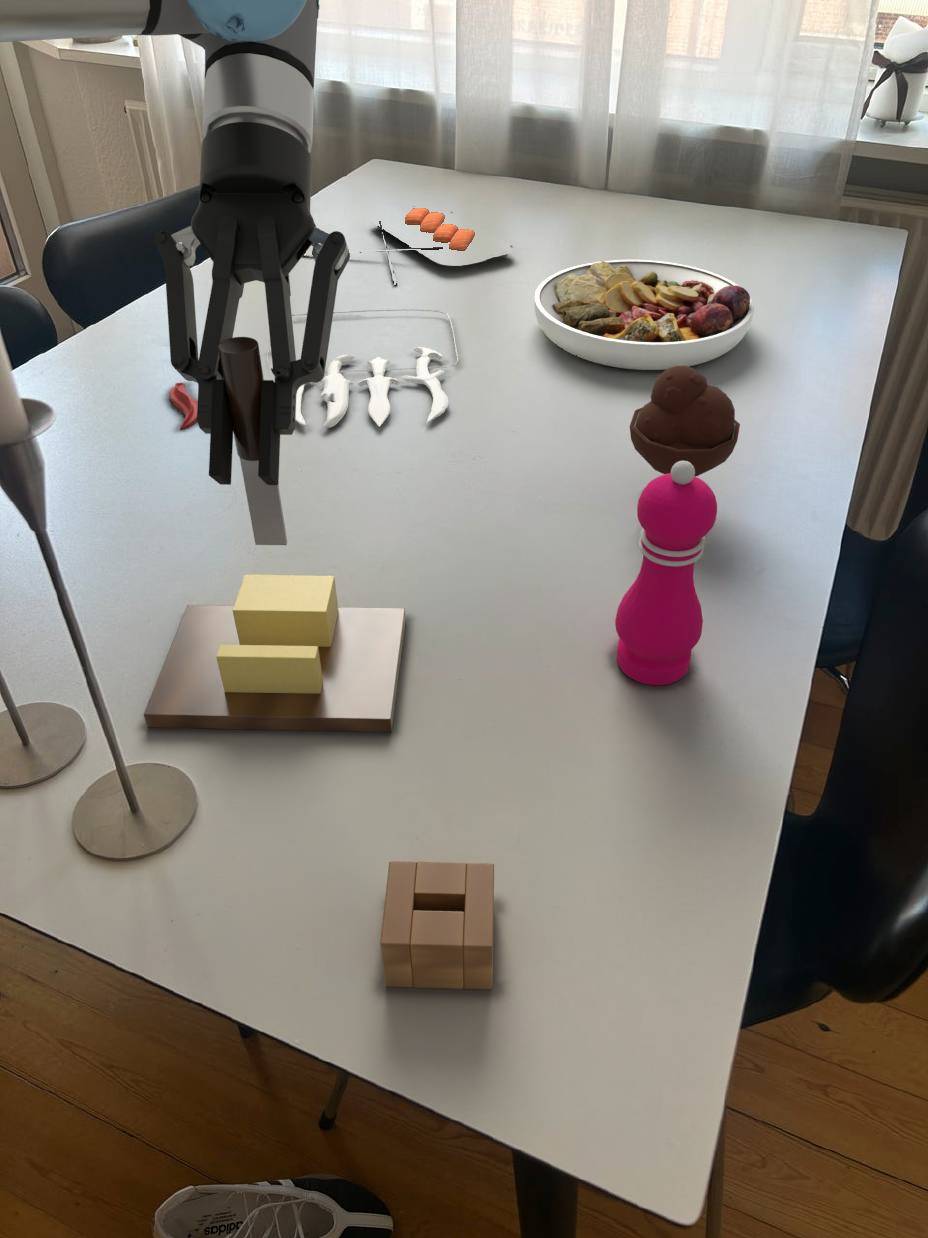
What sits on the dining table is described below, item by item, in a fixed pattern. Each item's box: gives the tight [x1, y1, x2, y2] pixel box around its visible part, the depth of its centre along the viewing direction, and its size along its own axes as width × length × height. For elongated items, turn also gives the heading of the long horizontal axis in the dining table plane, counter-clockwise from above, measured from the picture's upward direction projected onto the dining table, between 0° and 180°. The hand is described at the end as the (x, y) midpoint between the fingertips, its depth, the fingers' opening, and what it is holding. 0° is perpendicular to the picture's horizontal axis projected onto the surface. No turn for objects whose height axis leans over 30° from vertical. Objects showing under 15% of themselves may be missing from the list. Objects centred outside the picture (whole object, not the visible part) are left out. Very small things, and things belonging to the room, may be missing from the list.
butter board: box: [143, 604, 407, 733], centre depth 83 cm, size 20×14×2 cm
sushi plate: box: [302, 208, 475, 285], centre depth 161 cm, size 29×30×4 cm
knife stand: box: [379, 860, 495, 991], centre depth 62 cm, size 7×6×5 cm
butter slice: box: [216, 645, 323, 694], centre depth 79 cm, size 8×2×4 cm, turn 88°
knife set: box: [266, 308, 459, 428], centre depth 128 cm, size 26×35×1 cm
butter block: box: [232, 574, 339, 647], centre depth 84 cm, size 8×5×4 cm, turn 88°
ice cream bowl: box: [629, 366, 741, 477], centre depth 98 cm, size 11×11×15 cm
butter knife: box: [218, 336, 288, 546], centre depth 68 cm, size 3×3×16 cm
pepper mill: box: [614, 461, 718, 686], centre depth 78 cm, size 7×7×20 cm
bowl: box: [533, 259, 755, 371], centre depth 134 cm, size 30×30×8 cm
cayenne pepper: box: [168, 382, 198, 430], centre depth 120 cm, size 12×5×2 cm, turn 6°
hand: (244, 479), depth 65 cm, fingers closed on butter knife, 3 cm apart
